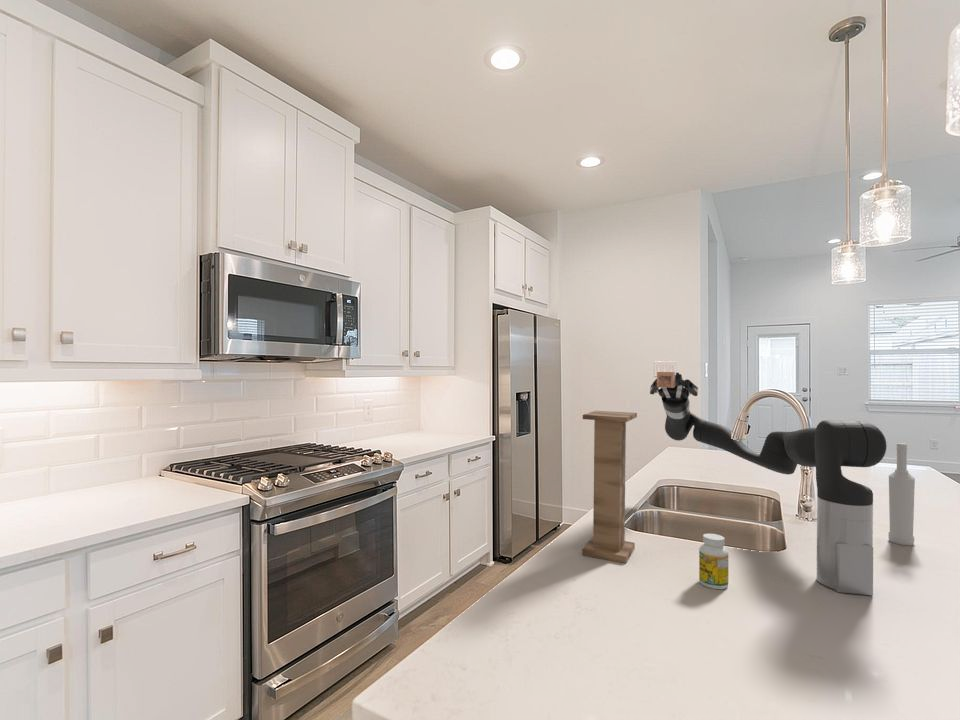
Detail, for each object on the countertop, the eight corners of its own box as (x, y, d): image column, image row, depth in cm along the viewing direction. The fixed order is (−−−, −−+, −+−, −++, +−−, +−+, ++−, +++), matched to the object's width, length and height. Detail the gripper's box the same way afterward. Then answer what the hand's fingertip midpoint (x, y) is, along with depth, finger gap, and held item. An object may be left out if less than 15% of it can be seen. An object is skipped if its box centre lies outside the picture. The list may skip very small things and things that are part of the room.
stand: (594, 540, 127) (595, 410, 127) (635, 547, 122) (636, 412, 123) (581, 556, 116) (582, 414, 116) (625, 564, 112) (627, 417, 112)
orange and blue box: (665, 384, 148) (665, 371, 148) (680, 385, 146) (680, 371, 146) (656, 387, 132) (656, 371, 132) (673, 387, 130) (673, 372, 130)
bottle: (904, 539, 131) (905, 442, 131) (920, 546, 126) (920, 445, 126) (883, 538, 131) (883, 441, 132) (897, 545, 126) (898, 445, 126)
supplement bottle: (734, 588, 101) (734, 539, 101) (712, 591, 99) (712, 542, 99) (714, 577, 106) (714, 531, 106) (693, 580, 104) (693, 533, 104)
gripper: (700, 415, 150) (696, 387, 137) (650, 412, 157) (643, 386, 143) (701, 392, 154) (698, 363, 140) (652, 390, 160) (645, 363, 147)
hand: (670, 375), depth 142 cm, fingers closed on orange and blue box, 3 cm apart
